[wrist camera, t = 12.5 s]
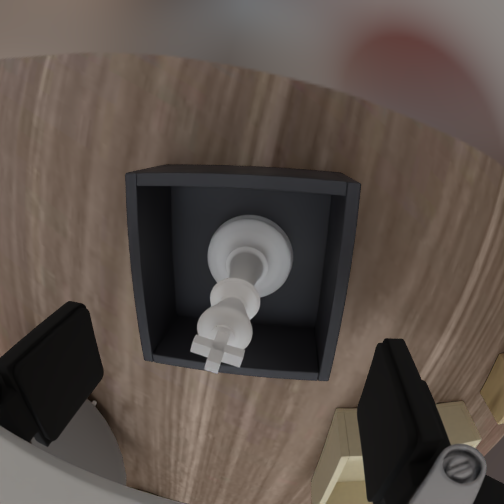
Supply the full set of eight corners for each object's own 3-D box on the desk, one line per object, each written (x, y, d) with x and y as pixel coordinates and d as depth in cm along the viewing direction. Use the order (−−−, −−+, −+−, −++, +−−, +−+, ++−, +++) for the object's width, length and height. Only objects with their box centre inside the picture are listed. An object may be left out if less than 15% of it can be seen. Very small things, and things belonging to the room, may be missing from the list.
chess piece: (277, 304, 20) (264, 433, 10) (200, 280, 20) (133, 390, 10) (304, 230, 18) (319, 326, 8) (220, 203, 18) (146, 271, 8)
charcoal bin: (342, 172, 17) (361, 183, 12) (322, 331, 20) (328, 381, 16) (164, 164, 18) (124, 173, 13) (171, 317, 21) (143, 360, 17)
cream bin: (463, 400, 21) (482, 439, 17) (416, 473, 25) (424, 507, 21) (336, 408, 23) (341, 456, 18) (311, 480, 27) (310, 519, 22)
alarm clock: (15, 348, 26) (-106, 476, 5) (52, 327, 23) (-104, 496, 3) (107, 454, 29) (37, 591, 9) (158, 451, 27) (88, 623, 7)
